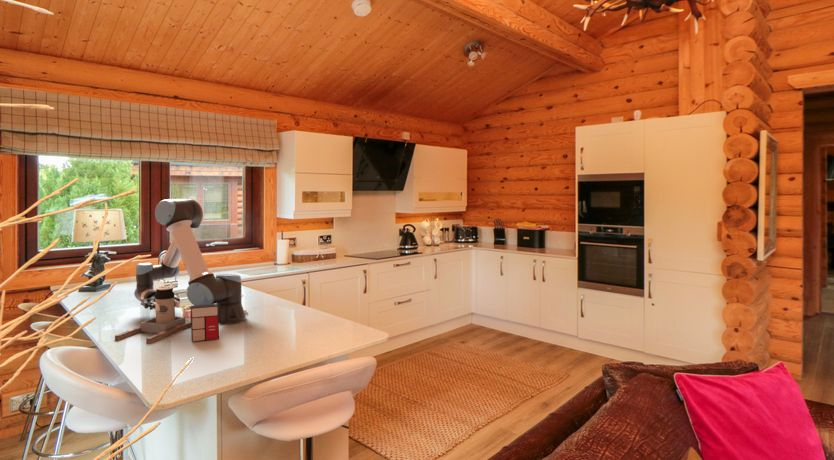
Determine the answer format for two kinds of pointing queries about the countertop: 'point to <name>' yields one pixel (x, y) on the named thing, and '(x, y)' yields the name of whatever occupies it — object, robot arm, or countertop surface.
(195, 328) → the cream and red box
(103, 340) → the countertop surface
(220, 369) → the countertop surface
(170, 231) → the robot arm
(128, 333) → the switch track
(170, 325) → the square tray
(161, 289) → the travel mug
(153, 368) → the countertop surface
